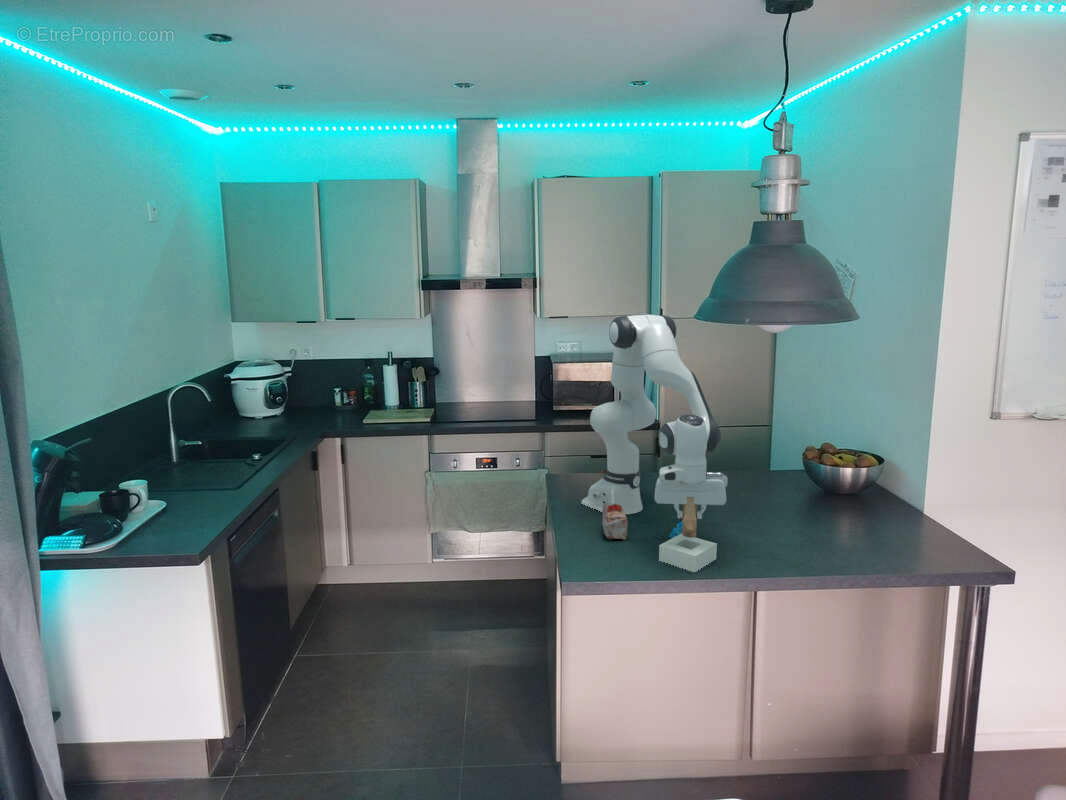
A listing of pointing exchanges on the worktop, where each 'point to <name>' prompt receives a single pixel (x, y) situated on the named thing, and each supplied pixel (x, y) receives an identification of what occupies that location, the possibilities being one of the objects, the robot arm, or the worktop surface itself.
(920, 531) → the worktop surface
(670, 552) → the fitting block
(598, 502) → the robot arm
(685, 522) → the wooden peg
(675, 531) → the gear
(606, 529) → the food item
